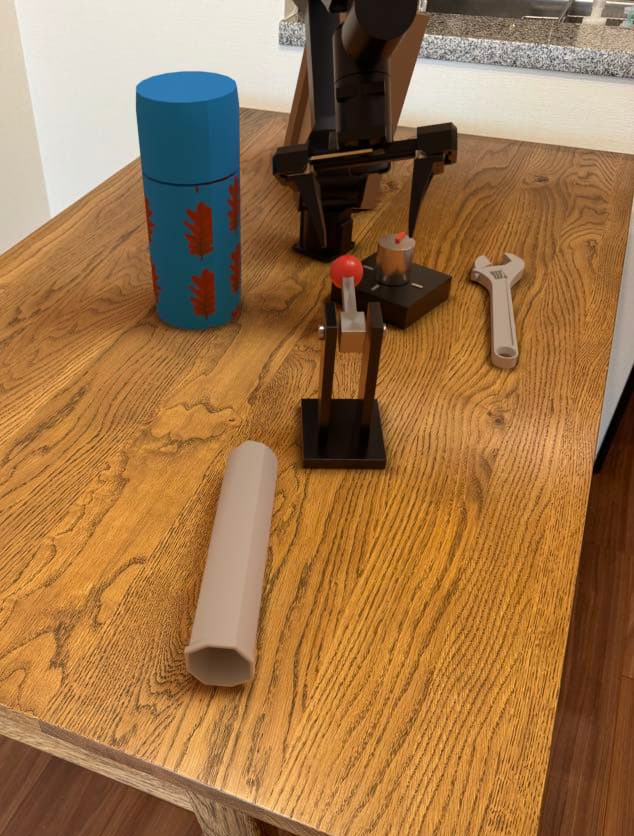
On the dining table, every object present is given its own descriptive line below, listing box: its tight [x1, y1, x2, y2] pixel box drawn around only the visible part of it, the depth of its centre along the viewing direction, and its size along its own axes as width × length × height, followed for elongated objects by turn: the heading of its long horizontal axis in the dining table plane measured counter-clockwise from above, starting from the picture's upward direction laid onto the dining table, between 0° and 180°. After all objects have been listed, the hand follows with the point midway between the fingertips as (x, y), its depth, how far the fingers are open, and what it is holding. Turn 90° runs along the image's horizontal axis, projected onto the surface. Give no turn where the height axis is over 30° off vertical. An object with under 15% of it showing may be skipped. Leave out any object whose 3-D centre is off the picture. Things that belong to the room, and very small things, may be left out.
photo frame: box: [282, 11, 430, 210], centre depth 116 cm, size 15×22×25 cm
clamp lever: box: [329, 254, 366, 354], centre depth 73 cm, size 12×3×3 cm, turn 178°
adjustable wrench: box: [469, 252, 526, 370], centre depth 95 cm, size 25×6×2 cm, turn 164°
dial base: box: [329, 251, 453, 331], centre depth 97 cm, size 11×10×3 cm
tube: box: [183, 439, 279, 688], centre depth 66 cm, size 5×5×25 cm
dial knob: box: [374, 231, 417, 286], centre depth 94 cm, size 4×4×5 cm
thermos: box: [135, 70, 242, 331], centre depth 89 cm, size 11×11×25 cm
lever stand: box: [300, 301, 388, 470], centre depth 74 cm, size 10×8×14 cm
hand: (366, 242), depth 83 cm, fingers open, 9 cm apart
